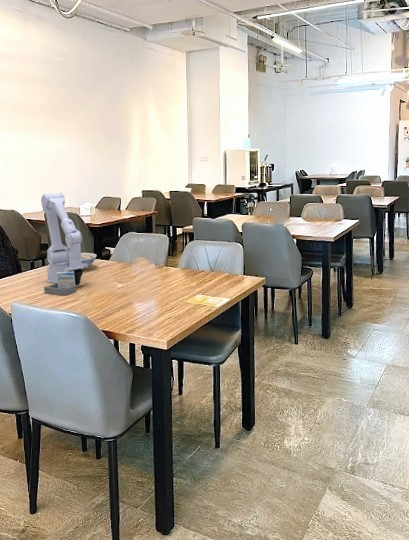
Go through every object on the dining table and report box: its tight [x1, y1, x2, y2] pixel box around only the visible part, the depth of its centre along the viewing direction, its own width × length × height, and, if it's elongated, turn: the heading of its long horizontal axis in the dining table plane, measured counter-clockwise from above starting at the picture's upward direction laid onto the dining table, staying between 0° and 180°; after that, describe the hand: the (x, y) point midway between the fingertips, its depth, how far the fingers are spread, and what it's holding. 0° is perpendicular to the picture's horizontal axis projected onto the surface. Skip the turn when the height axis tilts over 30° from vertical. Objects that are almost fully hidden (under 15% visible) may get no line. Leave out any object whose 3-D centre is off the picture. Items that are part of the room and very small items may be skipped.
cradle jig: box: [43, 283, 77, 297], centre depth 243 cm, size 12×8×3 cm, turn 63°
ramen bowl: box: [67, 250, 97, 270], centre depth 294 cm, size 25×23×8 cm
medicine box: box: [57, 271, 76, 289], centre depth 248 cm, size 8×4×9 cm, turn 107°
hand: (77, 284), depth 254 cm, fingers closed
